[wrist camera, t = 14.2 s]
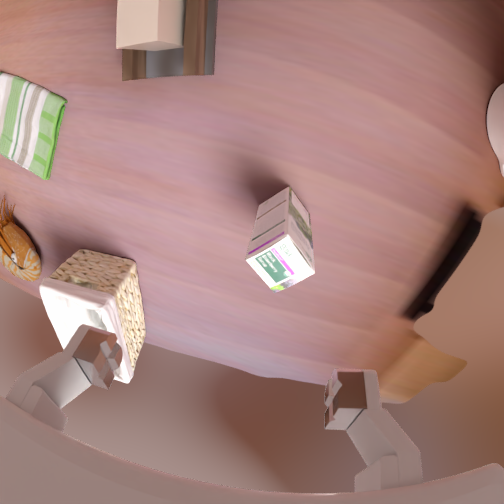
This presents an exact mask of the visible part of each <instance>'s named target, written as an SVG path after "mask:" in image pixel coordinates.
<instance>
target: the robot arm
mask: <svg viewBox="0 0 504 504" xmlns="http://www.w3.org/2000/svg"><path fill="white" fill-rule="evenodd" d="M487 130H488V136H489V140H490V143H491V146H492V148H493V150H494V152H495V154H496V156H497V157H498V160H499V164H500V170H501V174H502V176H503V177H504V83H503V84H501V85H500V86H499V87H498V88H497V89H496V90H495V92H494V93H493V95H492V97H491V99H490V102H489V106H488V111H487ZM117 339H118V338H117V336H116V334H115V333H112V332H109V331H105V330H102V329H98V328H95V327H92V326H89V325H85V324H82V325H80V326H79V327H78V329H77V330H76V332H75V333H74V335H73V336H72V338H71V339H70V341H69V343H68V344H67V346H66V347H65V349H64V351H63V352H62V353H61V352H59V353H57V354H55V355H53V356H52V357H50V358H48V359H46V360H45V361H43V362H41V363H39V364H38V365H36V366H34V367H32V368H31V369H29V370H27V371H26V372H24V373H22V374H20V375H19V376H18V378H17V380H16V381H15V383H14V385H13V386H12V388H11V390H10V391H9V393H8V395H7V397H6V398H4V397H2V396H1V395H0V504H504V469H503V468H502V467H501V466H500V465H498V464H495V463H494V464H489V465H486V466H484V467H480V468H478V469H475V470H471V471H468V472H465V473H461V474H458V475H454V476H451V477H447V478H443V479H439V480H434V481H430V482H425V483H423V475H422V465H421V456H420V451H419V449H418V448H417V447H416V446H415V444H414V443H413V442H412V441H411V440H410V438H409V437H408V436H407V435H406V433H405V432H404V431H403V430H402V428H401V427H400V426H399V425H398V424H397V422H396V421H395V420H394V419H393V418H392V416H391V415H390V414H389V413H388V411H387V410H386V409H382V406H381V399H380V392H379V385H378V378H377V372H376V371H375V370H361V369H340V368H335V369H334V370H333V372H332V379H330V380H328V383H327V385H326V390H325V404H326V405H327V407H328V409H327V410H326V412H325V429H333V430H346V432H347V433H348V435H349V436H350V438H351V440H352V442H353V443H354V445H355V446H356V448H357V450H358V451H359V453H360V455H361V456H362V458H363V460H364V461H365V463H366V464H367V466H368V467H367V468H366V469H364V470H363V471H361V472H360V473H358V474H357V475H356V476H355V492H350V493H322V494H318V493H316V494H314V493H311V494H310V493H284V492H270V491H260V490H251V489H243V488H236V487H229V486H223V485H218V484H212V483H207V482H202V481H198V480H193V479H189V478H184V477H180V476H176V475H173V474H169V473H165V472H162V471H158V470H155V469H152V468H148V467H145V466H142V465H139V464H136V463H133V462H130V461H128V460H125V459H122V458H119V457H117V456H114V455H111V454H109V453H107V452H104V451H102V450H99V449H97V448H94V447H92V446H90V445H88V444H86V443H83V442H81V441H79V440H77V439H75V438H72V437H70V436H69V435H67V434H65V433H63V430H64V427H65V425H66V423H67V421H68V418H67V416H66V415H65V414H64V413H63V412H62V411H61V408H62V407H64V406H65V405H66V404H67V403H69V402H70V401H71V400H73V399H74V398H75V397H77V396H78V395H79V394H80V393H82V392H83V391H84V390H86V389H87V388H88V387H89V386H91V384H93V385H96V386H99V387H102V388H106V389H109V387H110V385H111V383H112V381H113V379H114V377H115V376H114V371H115V370H116V369H118V368H119V367H120V364H121V362H122V357H123V351H122V348H121V346H120V345H119V344H118V343H117V342H116V341H117Z"/></svg>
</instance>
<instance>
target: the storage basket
mask: <svg viewBox="0 0 504 504" xmlns="http://www.w3.org/2000/svg"><path fill="white" fill-rule="evenodd" d="M84 252H85V253H84ZM138 280H139V279H138V274H137V269H136V263H135V262H134V261H132V260H130V259H126V258H121V257H117V256H112V255H109V254H104V253H100V252H95V251H91V250H86V249H79V250H78V251H77V252H76V253H74V254H73V255H72V257H70V258H68V259H67V260H66V262H64V263H62V264H61V265H60V266H59V268H57V269H56V270H55V272H53V273H52V275H50V276H49V277H48V278H46V277H45V278H44V279H43V280H42V283H41V285H40V286H39V289H40V294H41V297H42V300H43V303H44V306H45V309H46V311H47V314H48V316H49V319H50V321H51V323H52V325H53V327H54V329H55V332H56V334H57V336H58V338H59V340H60V343H61V345H62V347H63V349H65V347H66V346H67V344H68V343H69V341H70V339H71V338H72V336H73V335H74V333H75V332H76V330H77V329H78V327H79V326H80V325H82V324H85V325H89V326H92V327H95V328H98V329H102V330H105V331H109V332H112V333H115V334H116V336H117V338H118V339H117V341H116V342H117V343H118V344H119V345H120V346H121V348H122V351H123V357H122V362H121V364H120V367H119V368H118V369H116V370H115V371H114V376H115V377H114V379H115V380H118V381H121V382H124V383H129V382H130V380H131V378H132V377H133V374H134V373H133V371H134V368H135V365H136V360H137V358H138V356H139V352H140V350H141V347H142V344H143V342H144V338H145V336H146V331H145V321H144V312H143V305H142V300H141V292H140V288H139V284H138Z"/></svg>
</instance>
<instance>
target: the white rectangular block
mask: <svg viewBox="0 0 504 504" xmlns="http://www.w3.org/2000/svg"><path fill="white" fill-rule="evenodd" d="M186 3H187V0H118V4H117V25H116V49H135V50H148V51H159V50H167V49H175V48H184V34H185V17H186Z"/></svg>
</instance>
